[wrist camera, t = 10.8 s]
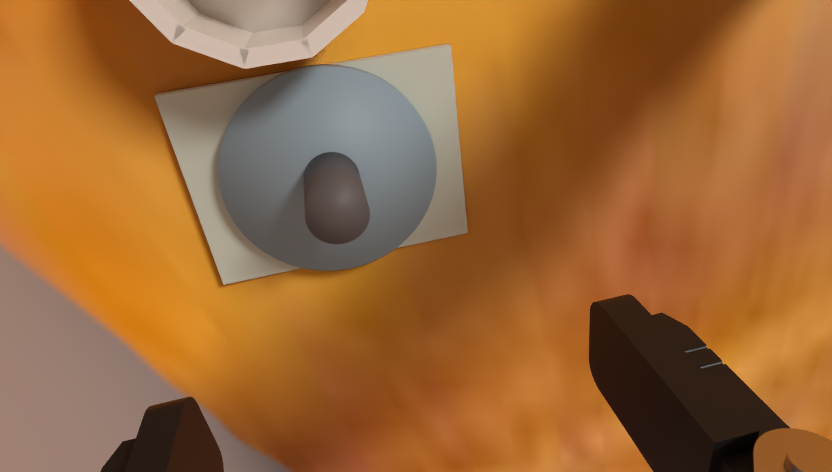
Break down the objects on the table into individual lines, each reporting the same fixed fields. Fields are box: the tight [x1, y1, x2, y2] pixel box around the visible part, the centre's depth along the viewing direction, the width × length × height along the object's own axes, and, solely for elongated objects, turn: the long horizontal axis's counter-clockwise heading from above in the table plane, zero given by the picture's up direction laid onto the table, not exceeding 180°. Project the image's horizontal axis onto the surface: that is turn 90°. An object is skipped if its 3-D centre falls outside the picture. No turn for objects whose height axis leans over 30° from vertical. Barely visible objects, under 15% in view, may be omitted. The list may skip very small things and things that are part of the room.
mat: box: [154, 44, 468, 285], centre depth 32 cm, size 16×12×1 cm
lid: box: [218, 64, 437, 271], centre depth 29 cm, size 12×12×6 cm
